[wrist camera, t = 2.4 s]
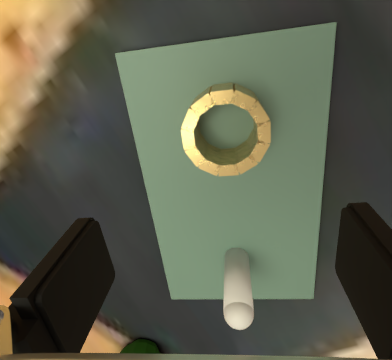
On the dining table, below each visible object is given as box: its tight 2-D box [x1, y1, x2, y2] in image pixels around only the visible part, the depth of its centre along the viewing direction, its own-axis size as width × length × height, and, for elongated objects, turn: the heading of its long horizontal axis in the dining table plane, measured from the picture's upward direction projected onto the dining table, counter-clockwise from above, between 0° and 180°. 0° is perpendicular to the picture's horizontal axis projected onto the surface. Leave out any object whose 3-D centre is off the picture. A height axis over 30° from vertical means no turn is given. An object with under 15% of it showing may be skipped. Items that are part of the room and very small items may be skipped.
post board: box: [115, 22, 336, 330], centre depth 26 cm, size 30×18×10 cm, turn 7°
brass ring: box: [181, 82, 271, 176], centre depth 24 cm, size 7×7×4 cm
